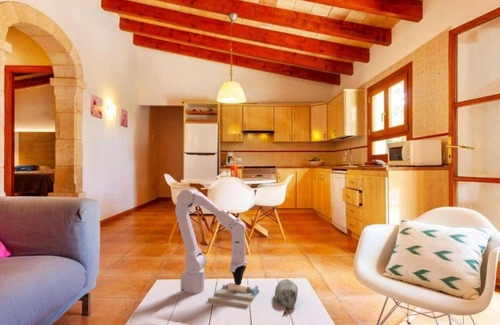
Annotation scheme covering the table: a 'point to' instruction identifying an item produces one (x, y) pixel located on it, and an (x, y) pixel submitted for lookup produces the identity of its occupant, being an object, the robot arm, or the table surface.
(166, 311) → the table surface
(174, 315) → the table surface
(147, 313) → the table surface
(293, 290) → the mottled grey stone
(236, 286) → the cream cylinder
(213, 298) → the beige mounting plate
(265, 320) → the table surface
